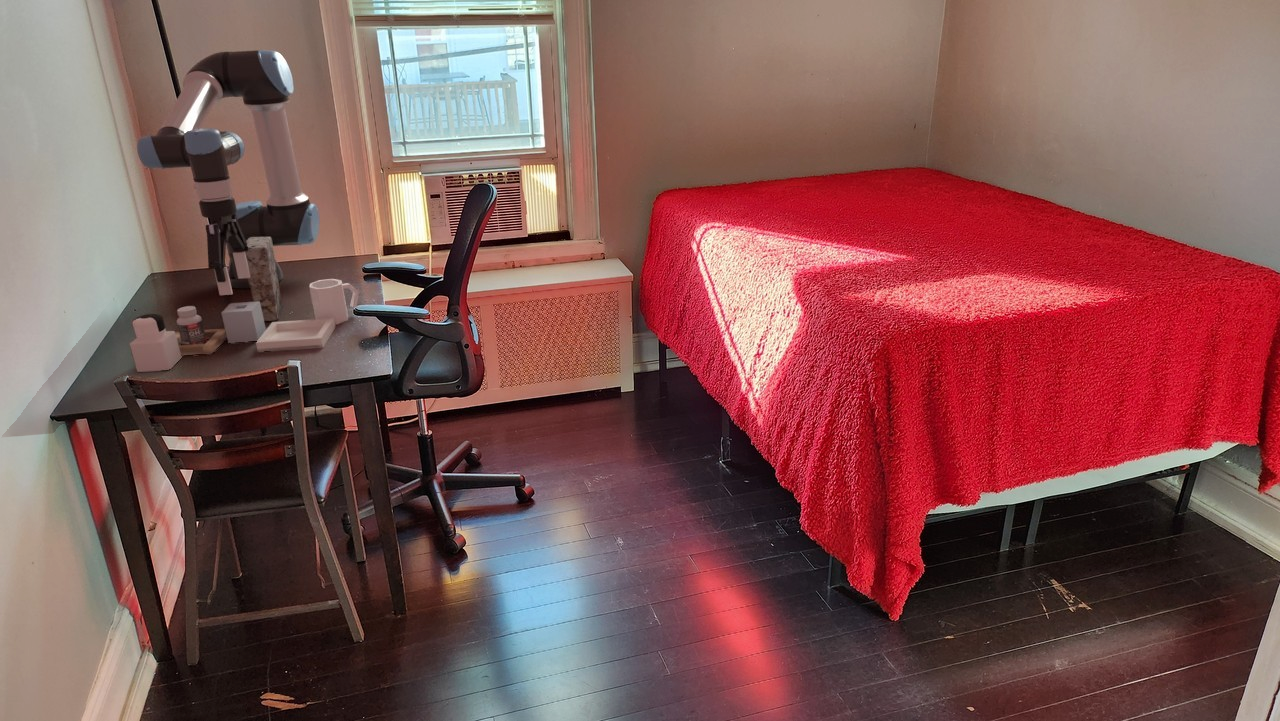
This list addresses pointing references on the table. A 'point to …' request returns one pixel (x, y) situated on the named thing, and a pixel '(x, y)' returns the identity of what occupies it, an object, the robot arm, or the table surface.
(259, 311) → the blue-grey block
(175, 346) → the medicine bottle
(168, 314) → the table surface
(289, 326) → the tray
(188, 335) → the pill bottle
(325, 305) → the mug
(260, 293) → the stone block
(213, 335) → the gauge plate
